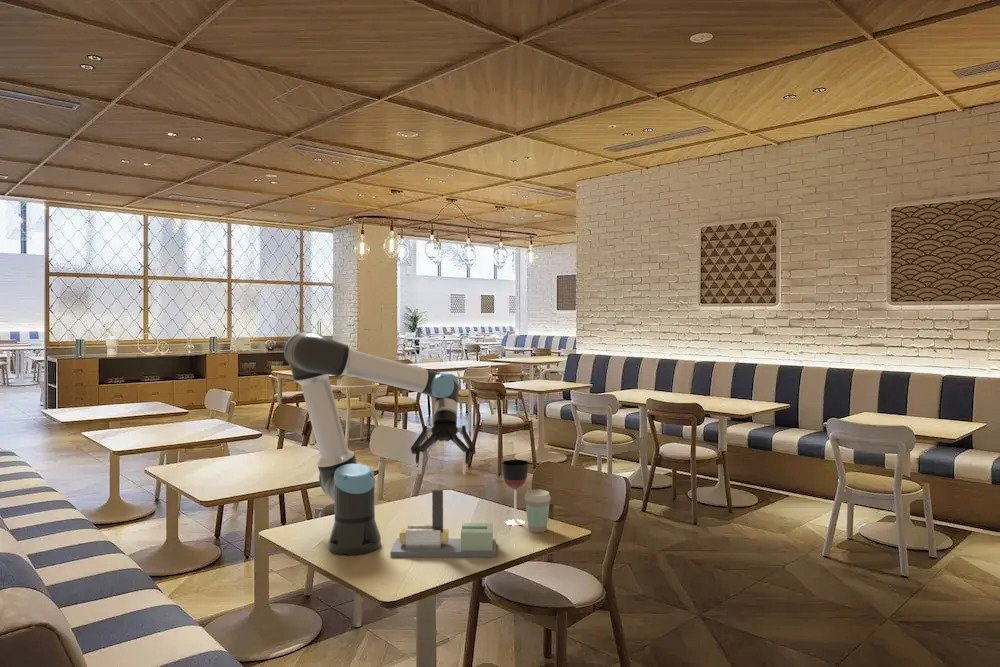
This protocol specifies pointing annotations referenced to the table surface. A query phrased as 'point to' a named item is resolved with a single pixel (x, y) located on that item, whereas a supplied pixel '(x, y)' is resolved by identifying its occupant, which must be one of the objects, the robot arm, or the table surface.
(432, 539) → the steel sleeve
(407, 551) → the base board
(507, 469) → the wineglass
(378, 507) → the table surface
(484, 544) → the socket block
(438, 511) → the sliding bolt with handle
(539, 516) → the coffee cup
